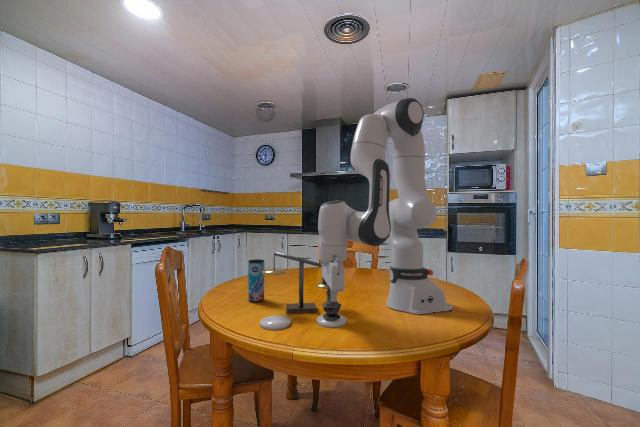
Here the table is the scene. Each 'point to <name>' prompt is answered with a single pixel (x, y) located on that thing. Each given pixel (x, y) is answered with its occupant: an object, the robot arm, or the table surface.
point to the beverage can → (255, 280)
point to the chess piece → (331, 307)
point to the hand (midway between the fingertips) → (332, 298)
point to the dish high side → (275, 322)
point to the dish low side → (331, 322)
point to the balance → (299, 306)
